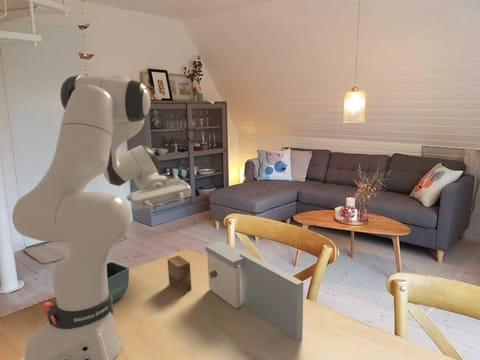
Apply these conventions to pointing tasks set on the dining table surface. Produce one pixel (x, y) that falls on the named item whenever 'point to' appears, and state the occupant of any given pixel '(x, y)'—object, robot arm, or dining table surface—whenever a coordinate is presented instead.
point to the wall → (266, 289)
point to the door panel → (224, 280)
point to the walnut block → (179, 274)
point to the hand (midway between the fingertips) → (168, 204)
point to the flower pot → (117, 279)
